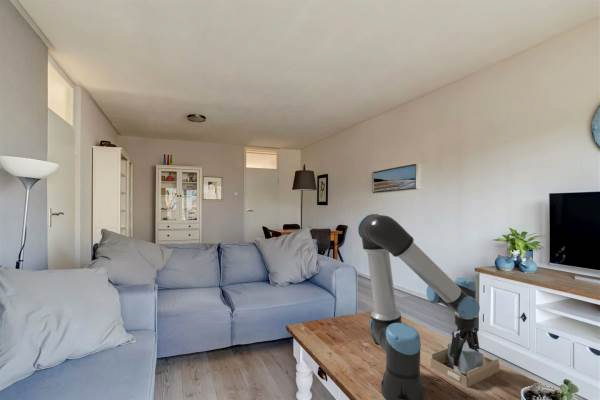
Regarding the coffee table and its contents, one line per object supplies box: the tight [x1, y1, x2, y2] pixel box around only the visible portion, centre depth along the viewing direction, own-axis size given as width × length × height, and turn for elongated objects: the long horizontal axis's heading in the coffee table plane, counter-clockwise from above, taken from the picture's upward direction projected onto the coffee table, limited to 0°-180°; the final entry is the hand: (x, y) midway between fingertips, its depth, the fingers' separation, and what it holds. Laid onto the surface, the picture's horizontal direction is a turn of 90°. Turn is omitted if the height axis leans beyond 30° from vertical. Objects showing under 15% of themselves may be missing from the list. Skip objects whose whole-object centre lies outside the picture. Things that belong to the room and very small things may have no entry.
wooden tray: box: [430, 347, 500, 388], centre depth 125 cm, size 22×16×6 cm
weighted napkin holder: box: [447, 342, 484, 375], centre depth 125 cm, size 5×12×9 cm, turn 29°
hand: (464, 369), depth 125 cm, fingers open, 9 cm apart
